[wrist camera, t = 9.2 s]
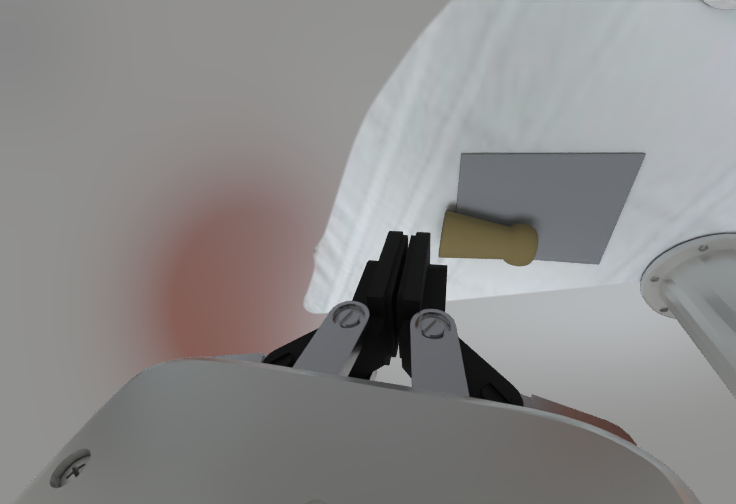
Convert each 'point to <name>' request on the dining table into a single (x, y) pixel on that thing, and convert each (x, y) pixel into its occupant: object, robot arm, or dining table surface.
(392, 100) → the dining table surface
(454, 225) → the cork
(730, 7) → the water bottle
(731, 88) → the dining table surface
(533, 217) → the rubber mat
